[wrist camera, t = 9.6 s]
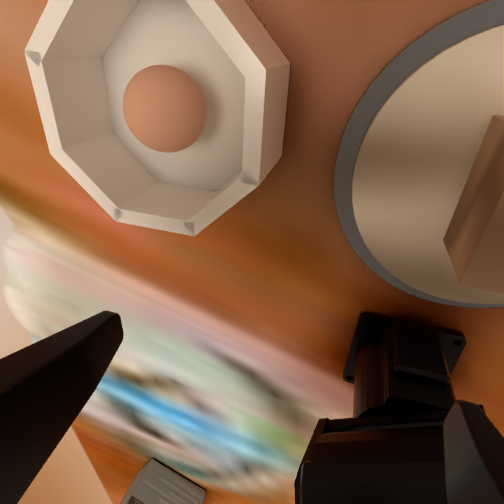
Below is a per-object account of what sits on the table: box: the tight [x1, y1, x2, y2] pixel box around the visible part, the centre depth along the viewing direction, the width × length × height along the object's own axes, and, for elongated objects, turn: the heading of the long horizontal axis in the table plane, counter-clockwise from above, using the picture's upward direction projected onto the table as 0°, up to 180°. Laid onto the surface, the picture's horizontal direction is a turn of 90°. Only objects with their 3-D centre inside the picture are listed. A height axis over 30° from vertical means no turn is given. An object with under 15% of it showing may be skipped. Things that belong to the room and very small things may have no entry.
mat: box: [334, 0, 504, 308], centre depth 17 cm, size 15×15×1 cm
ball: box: [123, 65, 207, 153], centre depth 17 cm, size 4×4×4 cm
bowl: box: [24, 0, 291, 236], centre depth 18 cm, size 11×11×5 cm
